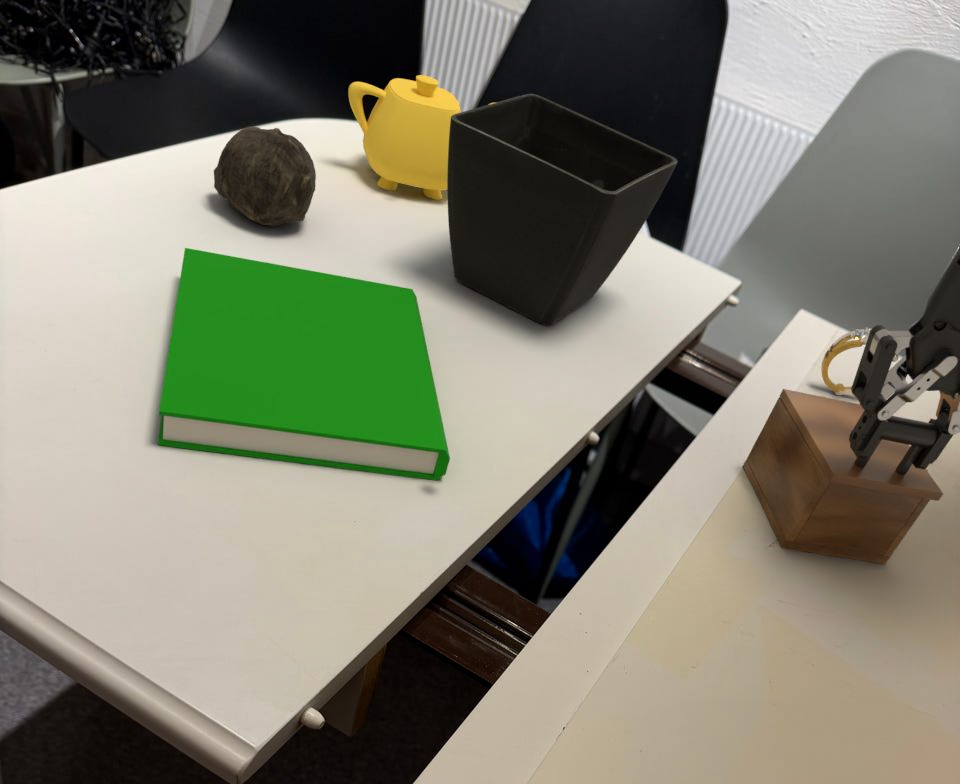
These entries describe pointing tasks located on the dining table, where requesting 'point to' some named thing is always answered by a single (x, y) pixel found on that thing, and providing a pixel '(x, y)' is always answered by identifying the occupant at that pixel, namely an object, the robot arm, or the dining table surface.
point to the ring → (837, 348)
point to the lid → (887, 462)
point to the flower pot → (544, 202)
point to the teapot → (407, 132)
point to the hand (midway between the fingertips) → (886, 457)
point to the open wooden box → (822, 499)
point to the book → (300, 369)
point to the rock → (266, 176)
